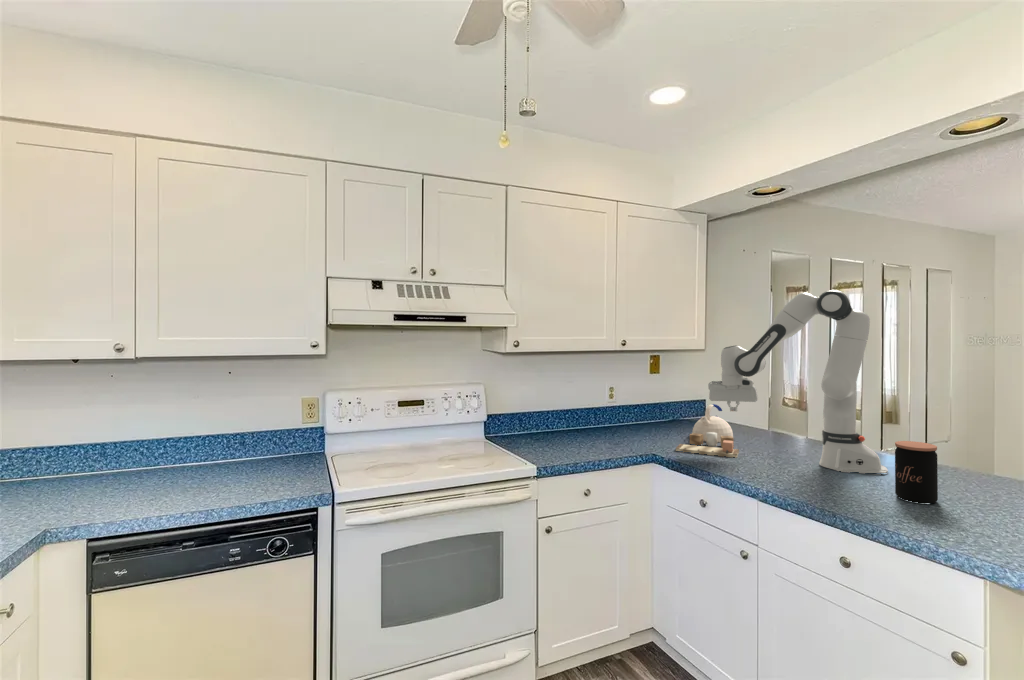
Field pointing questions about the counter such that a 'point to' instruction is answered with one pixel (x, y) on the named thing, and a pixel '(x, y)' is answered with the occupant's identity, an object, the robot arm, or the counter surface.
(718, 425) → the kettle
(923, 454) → the coffee jar
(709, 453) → the counter board
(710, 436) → the grey cylinder
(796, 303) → the robot arm
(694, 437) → the walnut block
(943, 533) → the counter surface
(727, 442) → the counter marker
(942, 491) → the counter surface
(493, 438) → the counter surface
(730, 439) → the walnut block
